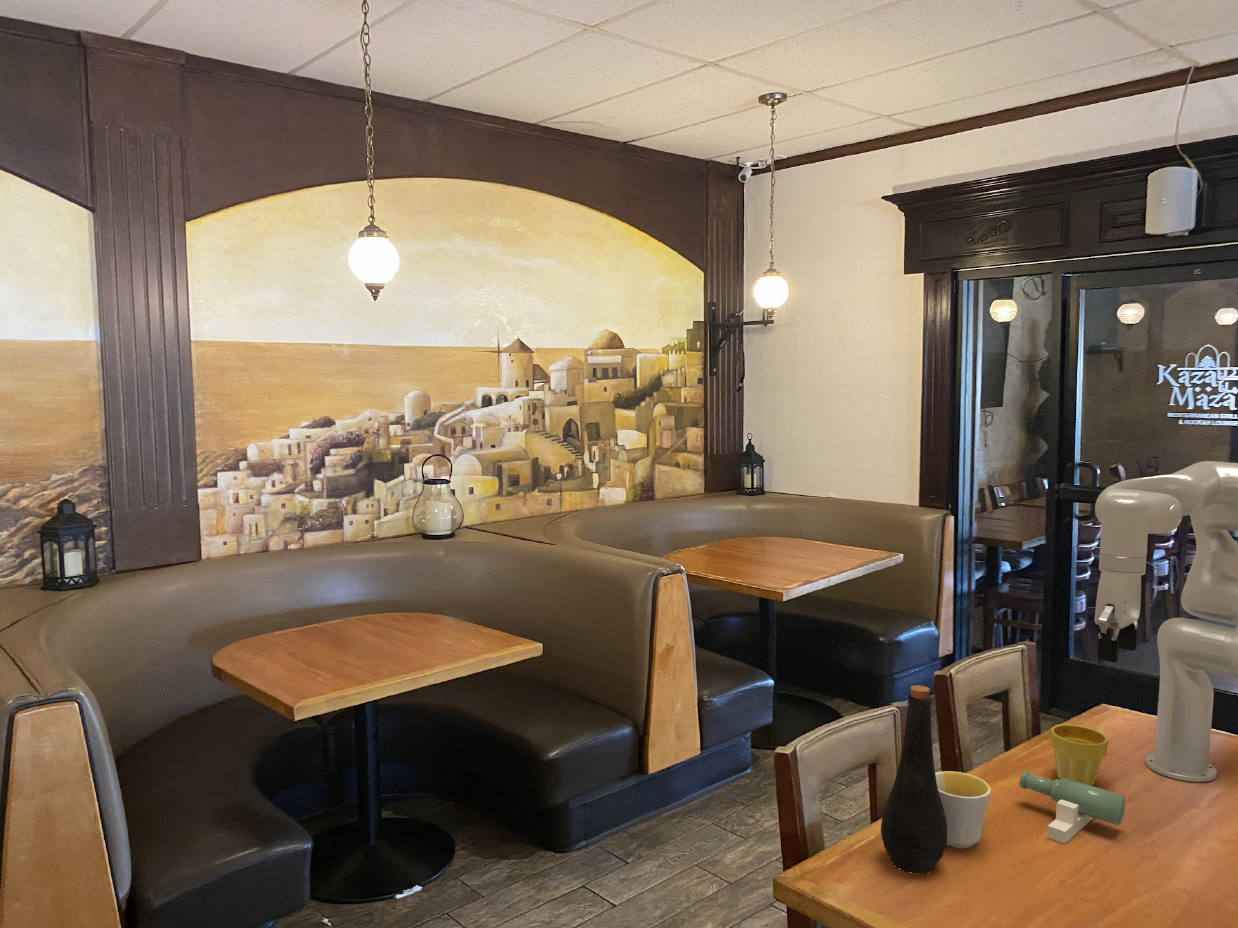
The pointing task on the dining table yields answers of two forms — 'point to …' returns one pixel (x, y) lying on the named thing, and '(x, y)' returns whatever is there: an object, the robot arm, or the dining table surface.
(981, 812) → the mug
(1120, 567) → the robot arm
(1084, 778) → the plant pot
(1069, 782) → the green bottle
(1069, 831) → the u rest
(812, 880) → the dining table surface
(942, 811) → the bottle
